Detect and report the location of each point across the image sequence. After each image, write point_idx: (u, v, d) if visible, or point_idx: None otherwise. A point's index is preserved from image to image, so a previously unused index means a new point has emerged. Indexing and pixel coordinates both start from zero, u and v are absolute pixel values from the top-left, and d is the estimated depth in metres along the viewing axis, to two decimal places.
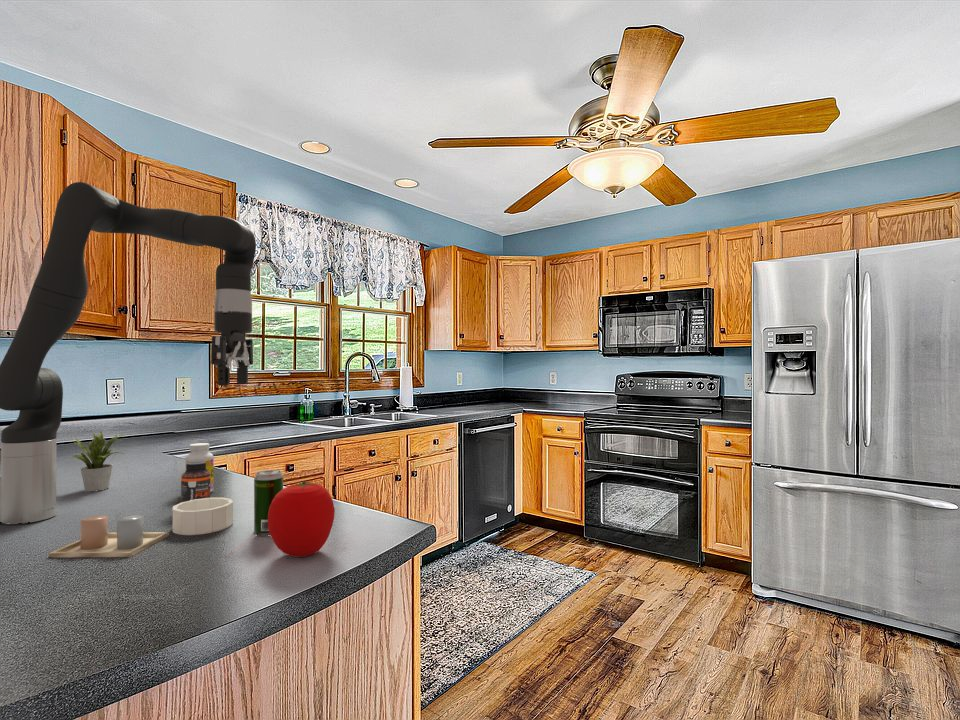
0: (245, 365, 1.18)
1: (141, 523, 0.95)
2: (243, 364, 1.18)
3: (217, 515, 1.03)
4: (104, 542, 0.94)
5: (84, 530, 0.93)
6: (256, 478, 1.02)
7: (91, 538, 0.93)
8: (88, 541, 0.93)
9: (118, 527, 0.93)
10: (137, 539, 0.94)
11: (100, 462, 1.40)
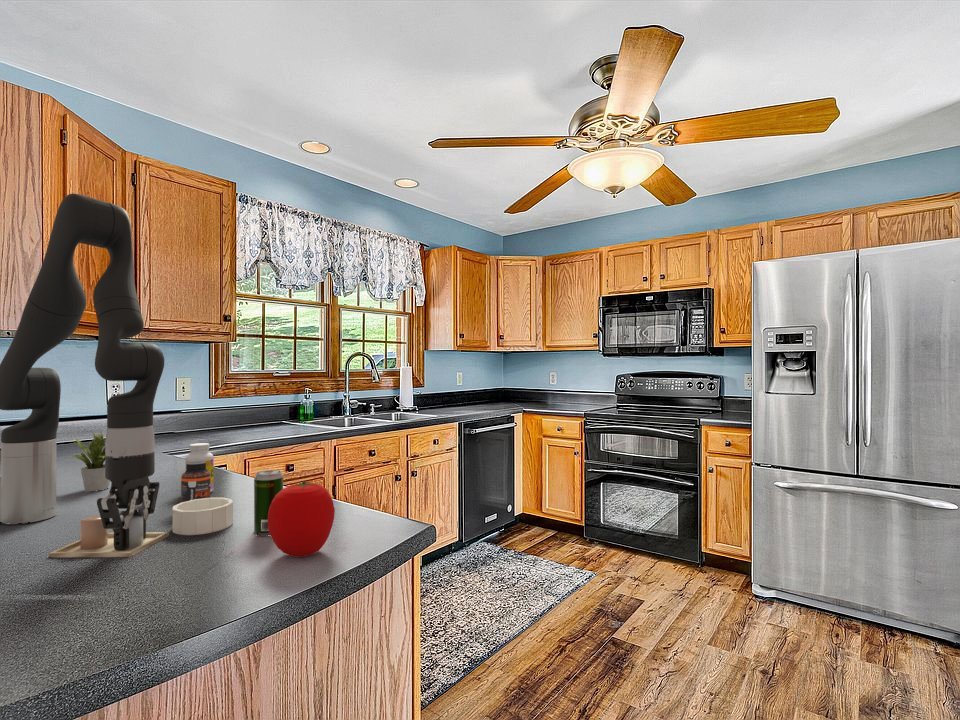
0: None
1: (141, 523, 0.95)
2: None
3: (217, 515, 1.03)
4: (104, 542, 0.94)
5: (84, 530, 0.93)
6: (256, 478, 1.02)
7: (91, 538, 0.93)
8: (88, 541, 0.93)
9: None
10: (137, 539, 0.94)
11: (100, 462, 1.40)
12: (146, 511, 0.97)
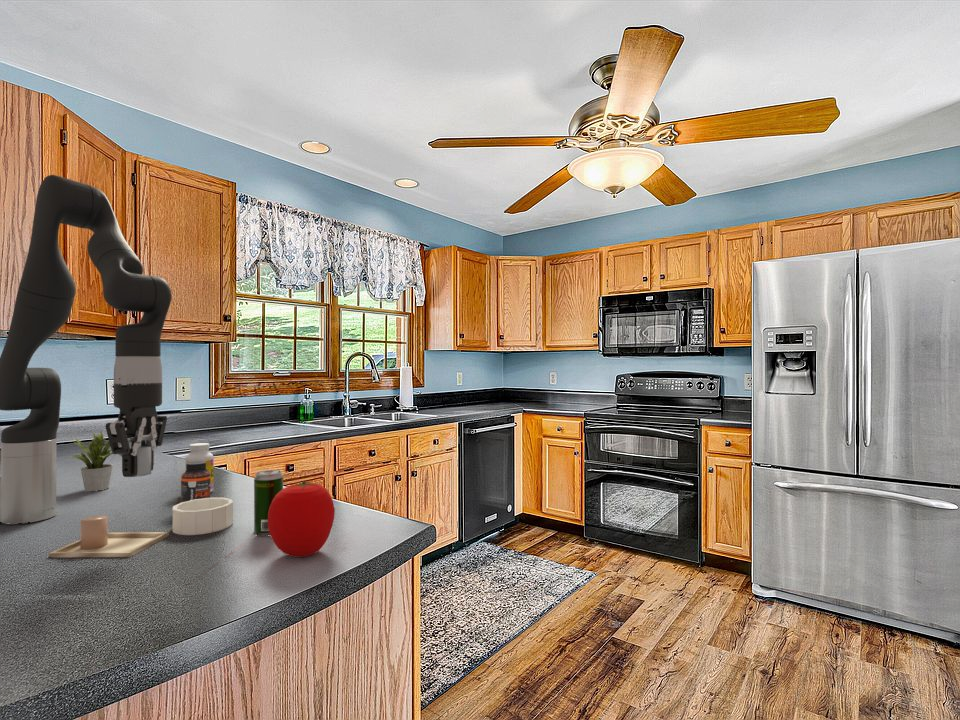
0: None
1: (149, 452, 0.96)
2: None
3: (217, 515, 1.03)
4: (104, 542, 0.94)
5: (84, 530, 0.93)
6: (256, 478, 1.02)
7: (91, 538, 0.93)
8: (88, 541, 0.93)
9: None
10: (145, 467, 0.95)
11: (100, 462, 1.40)
12: (154, 442, 0.98)
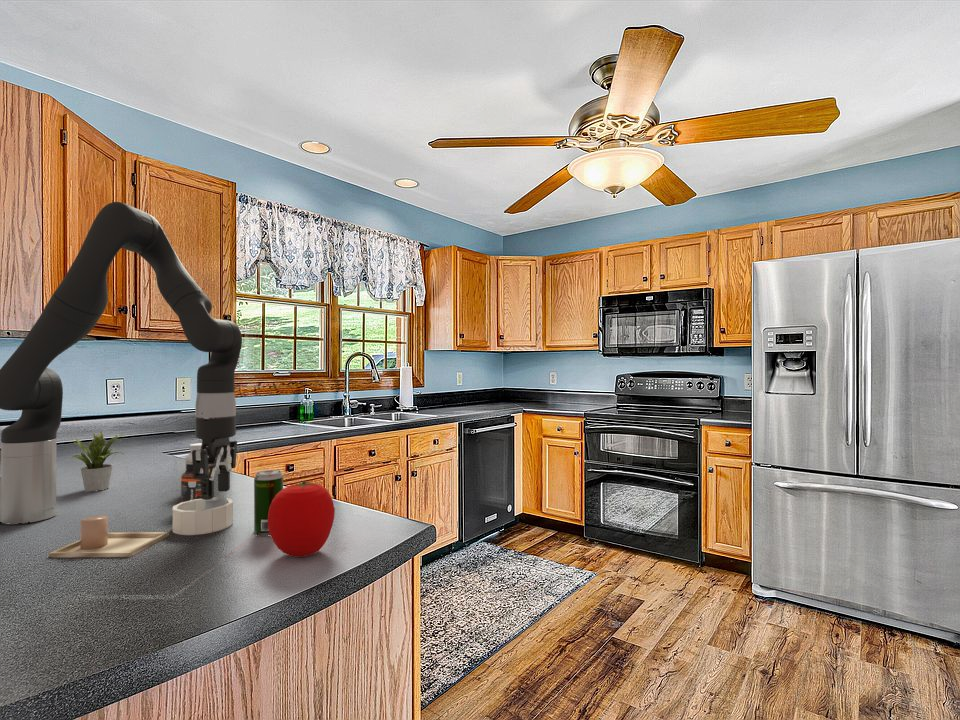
0: (227, 470, 1.11)
1: (225, 503, 1.08)
2: (225, 470, 1.11)
3: (217, 515, 1.03)
4: (104, 542, 0.94)
5: (84, 530, 0.93)
6: (256, 478, 1.02)
7: (91, 538, 0.93)
8: (88, 541, 0.93)
9: (206, 507, 1.06)
10: None
11: (100, 462, 1.40)
12: (230, 465, 1.11)
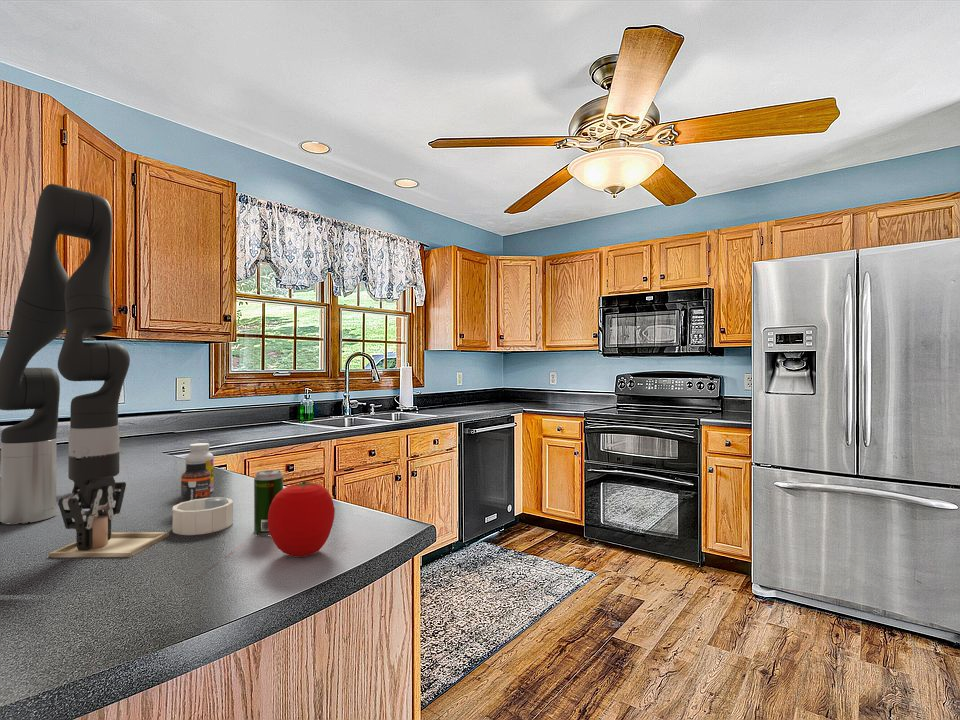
0: None
1: (225, 503, 1.07)
2: None
3: (217, 515, 1.03)
4: (104, 542, 0.94)
5: None
6: (256, 478, 1.02)
7: (92, 538, 0.93)
8: None
9: (206, 507, 1.06)
10: None
11: None
12: (111, 511, 0.97)
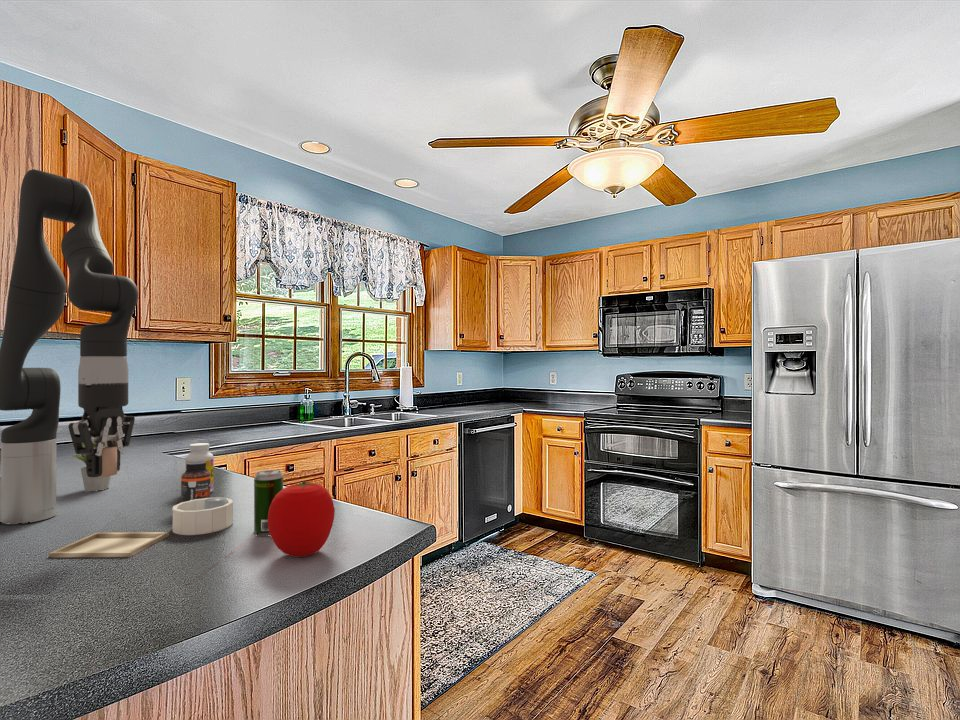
0: None
1: (225, 503, 1.08)
2: None
3: (217, 515, 1.03)
4: (114, 471, 0.95)
5: None
6: (256, 478, 1.02)
7: None
8: None
9: (206, 507, 1.06)
10: None
11: None
12: (120, 442, 0.98)
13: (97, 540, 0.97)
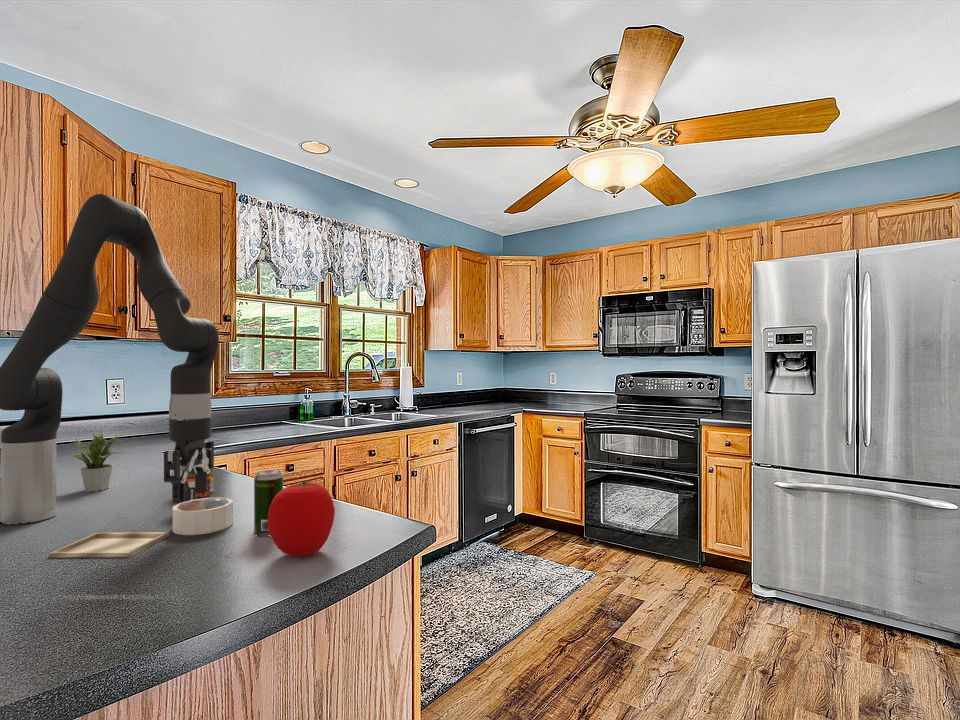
0: (204, 472, 1.08)
1: (225, 503, 1.08)
2: (202, 471, 1.08)
3: (217, 515, 1.03)
4: None
5: None
6: (256, 478, 1.02)
7: None
8: None
9: (206, 507, 1.06)
10: None
11: (100, 462, 1.40)
12: (207, 466, 1.09)
13: (97, 540, 0.97)
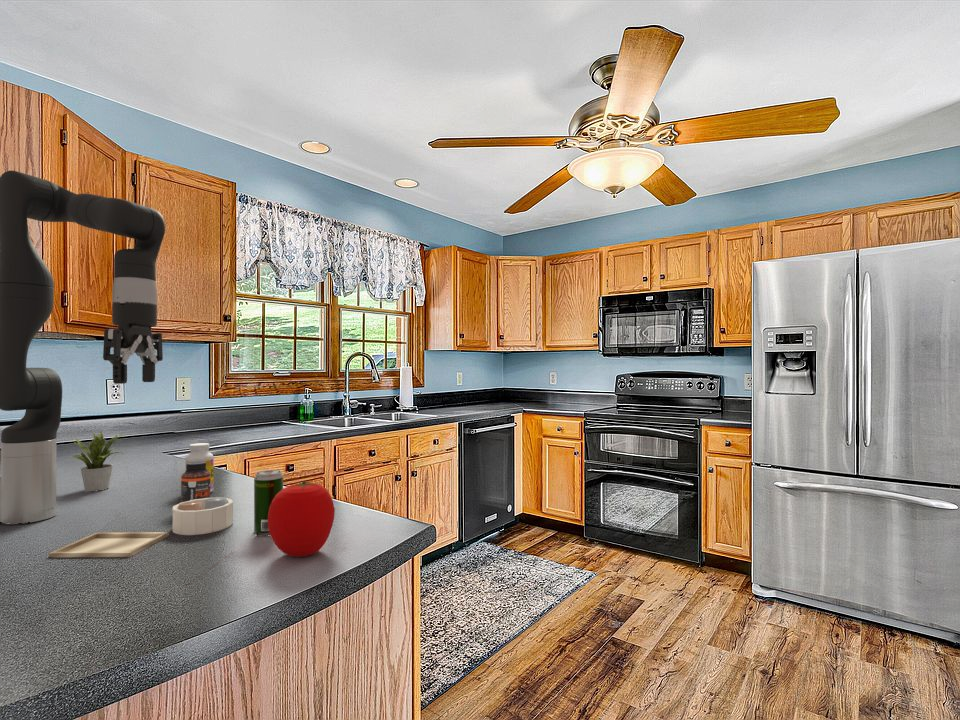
0: (151, 361, 1.08)
1: (225, 503, 1.08)
2: (149, 360, 1.08)
3: (217, 515, 1.03)
4: None
5: None
6: (256, 478, 1.02)
7: None
8: None
9: (206, 507, 1.06)
10: None
11: (100, 462, 1.40)
12: (155, 356, 1.09)
13: (97, 540, 0.97)
